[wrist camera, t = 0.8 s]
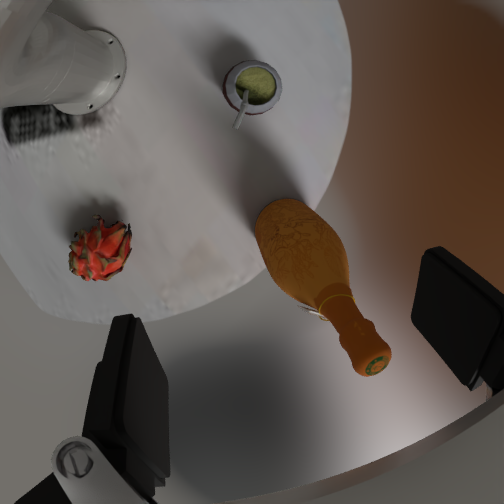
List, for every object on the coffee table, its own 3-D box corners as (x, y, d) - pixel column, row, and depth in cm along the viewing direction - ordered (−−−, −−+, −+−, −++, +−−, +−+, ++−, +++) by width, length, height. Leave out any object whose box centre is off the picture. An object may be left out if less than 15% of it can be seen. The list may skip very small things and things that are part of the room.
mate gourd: (267, 64, 37) (301, 43, 24) (275, 117, 41) (311, 121, 28) (213, 70, 37) (221, 49, 23) (221, 124, 40) (233, 130, 27)
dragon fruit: (78, 254, 46) (132, 211, 47) (99, 298, 45) (157, 255, 45) (47, 244, 38) (107, 194, 38) (68, 296, 36) (133, 245, 37)
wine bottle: (240, 215, 46) (298, 364, 20) (298, 183, 46) (423, 291, 19) (269, 265, 51) (337, 420, 24) (322, 235, 50) (431, 365, 23)
